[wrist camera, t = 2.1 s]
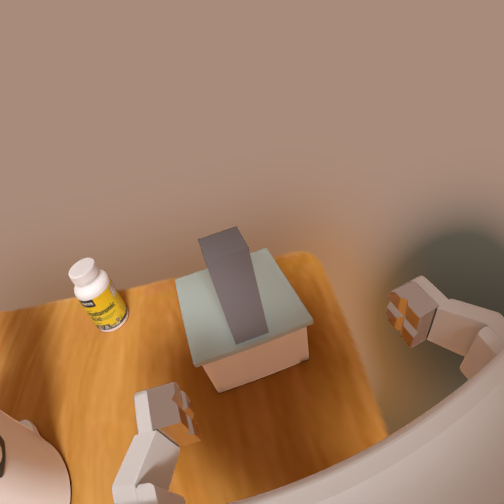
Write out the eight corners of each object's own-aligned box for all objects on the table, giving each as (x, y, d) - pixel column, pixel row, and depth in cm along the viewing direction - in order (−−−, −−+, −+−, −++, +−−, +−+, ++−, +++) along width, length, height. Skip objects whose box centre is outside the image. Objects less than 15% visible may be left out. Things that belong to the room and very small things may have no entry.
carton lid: (313, 323, 27) (306, 232, 21) (195, 367, 25) (149, 286, 19) (267, 251, 36) (251, 174, 31) (176, 283, 35) (145, 209, 29)
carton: (309, 358, 31) (306, 323, 27) (218, 393, 29) (200, 362, 26) (272, 293, 40) (264, 256, 36) (197, 320, 38) (181, 286, 35)
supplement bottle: (97, 338, 38) (60, 286, 32) (98, 312, 42) (66, 262, 37) (130, 326, 39) (97, 272, 33) (129, 301, 43) (100, 248, 38)
